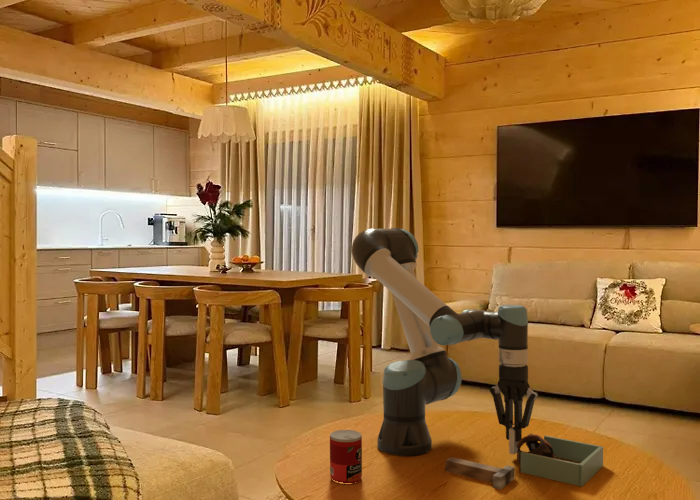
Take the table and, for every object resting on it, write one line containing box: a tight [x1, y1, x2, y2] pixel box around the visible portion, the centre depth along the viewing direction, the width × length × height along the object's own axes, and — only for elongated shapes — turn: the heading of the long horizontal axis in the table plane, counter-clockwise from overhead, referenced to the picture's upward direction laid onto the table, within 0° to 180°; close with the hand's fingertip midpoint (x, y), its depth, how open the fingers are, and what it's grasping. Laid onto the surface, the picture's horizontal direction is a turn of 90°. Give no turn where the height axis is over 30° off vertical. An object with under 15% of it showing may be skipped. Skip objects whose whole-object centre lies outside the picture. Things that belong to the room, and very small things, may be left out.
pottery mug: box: [516, 433, 557, 465], centre depth 169 cm, size 12×10×8 cm
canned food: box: [329, 429, 363, 484], centre depth 159 cm, size 8×8×11 cm
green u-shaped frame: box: [520, 435, 604, 487], centre depth 164 cm, size 15×17×5 cm
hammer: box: [444, 456, 515, 490], centre depth 160 cm, size 16×8×3 cm, turn 53°
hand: (513, 452), depth 172 cm, fingers closed
